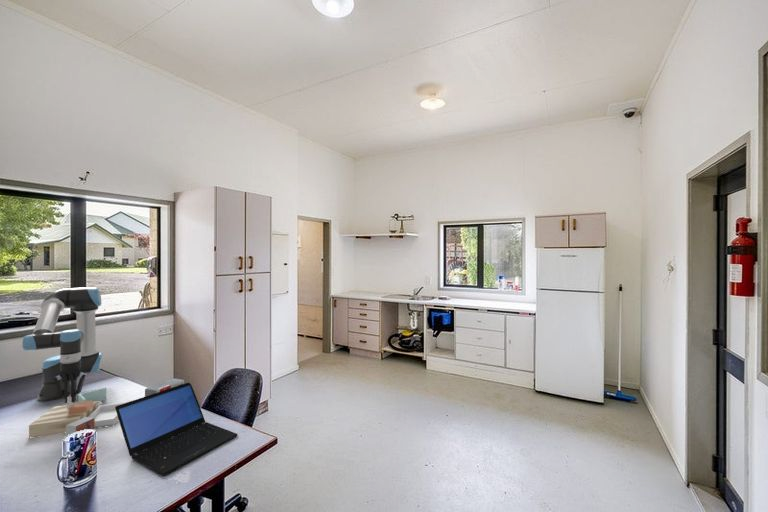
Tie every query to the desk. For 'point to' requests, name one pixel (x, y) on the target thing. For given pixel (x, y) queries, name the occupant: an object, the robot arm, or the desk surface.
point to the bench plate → (56, 421)
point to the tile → (81, 407)
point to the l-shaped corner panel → (93, 396)
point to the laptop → (168, 429)
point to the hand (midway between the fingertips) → (70, 408)
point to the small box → (80, 425)
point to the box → (105, 415)
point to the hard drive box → (163, 386)
